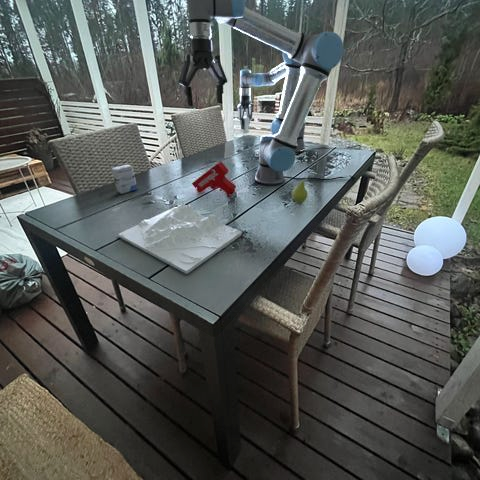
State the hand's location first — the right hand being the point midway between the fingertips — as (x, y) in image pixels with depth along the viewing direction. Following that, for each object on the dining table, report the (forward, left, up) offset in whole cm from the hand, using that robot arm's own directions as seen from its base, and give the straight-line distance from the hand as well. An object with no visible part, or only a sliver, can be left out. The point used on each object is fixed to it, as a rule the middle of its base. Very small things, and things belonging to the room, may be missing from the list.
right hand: (245, 128), depth 210 cm
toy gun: (+53, +87, -11) cm, 103 cm away
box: (0, 0, -3) cm, 3 cm away
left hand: (+55, +88, +28) cm, 108 cm away
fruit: (+21, +112, -11) cm, 114 cm away
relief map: (+77, +120, -11) cm, 143 cm away
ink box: (+92, +67, -11) cm, 114 cm away
